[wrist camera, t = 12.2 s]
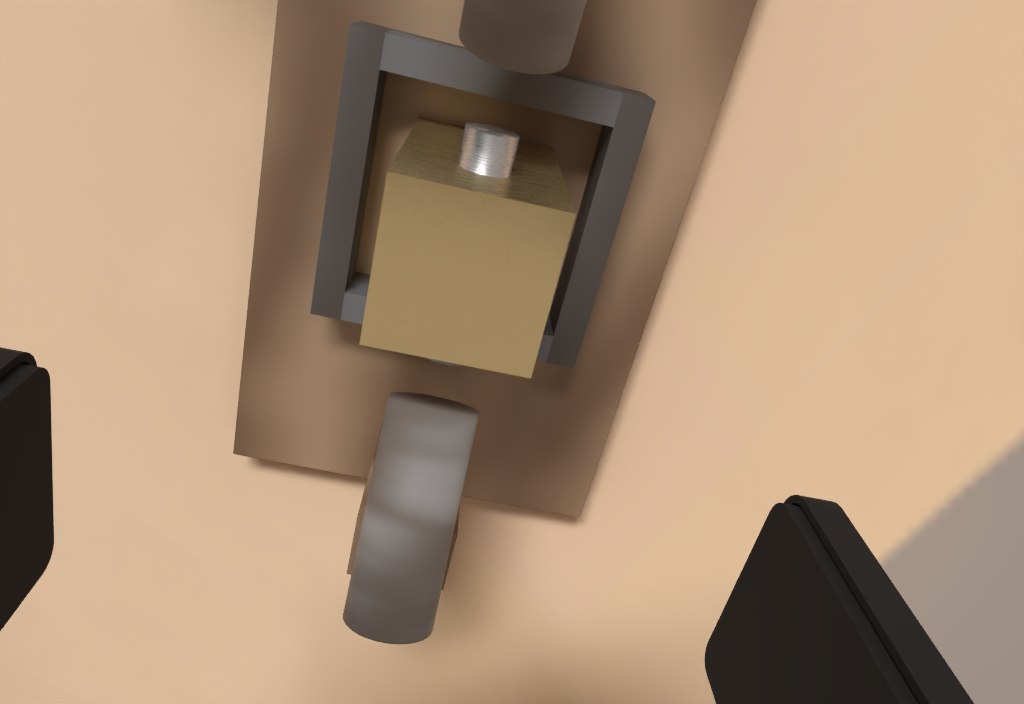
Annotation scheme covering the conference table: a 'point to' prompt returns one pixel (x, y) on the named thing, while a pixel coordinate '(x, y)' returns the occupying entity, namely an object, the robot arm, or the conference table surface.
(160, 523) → the conference table surface
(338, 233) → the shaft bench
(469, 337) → the block
